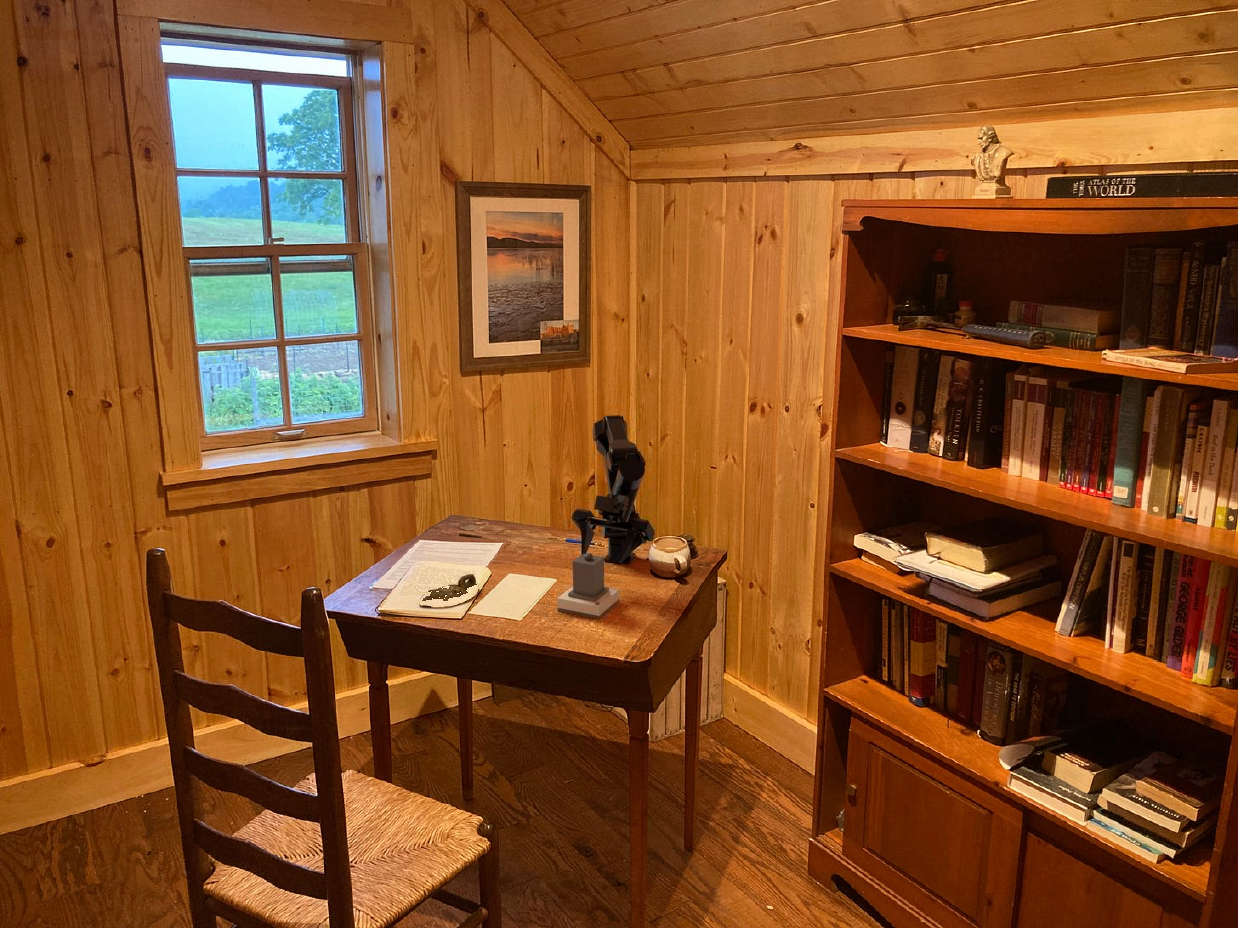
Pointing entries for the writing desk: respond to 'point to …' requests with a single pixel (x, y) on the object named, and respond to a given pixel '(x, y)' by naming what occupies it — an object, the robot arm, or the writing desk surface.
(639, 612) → the writing desk surface
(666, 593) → the writing desk surface
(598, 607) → the socket
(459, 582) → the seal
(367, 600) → the writing desk surface
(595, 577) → the grey block with knob
